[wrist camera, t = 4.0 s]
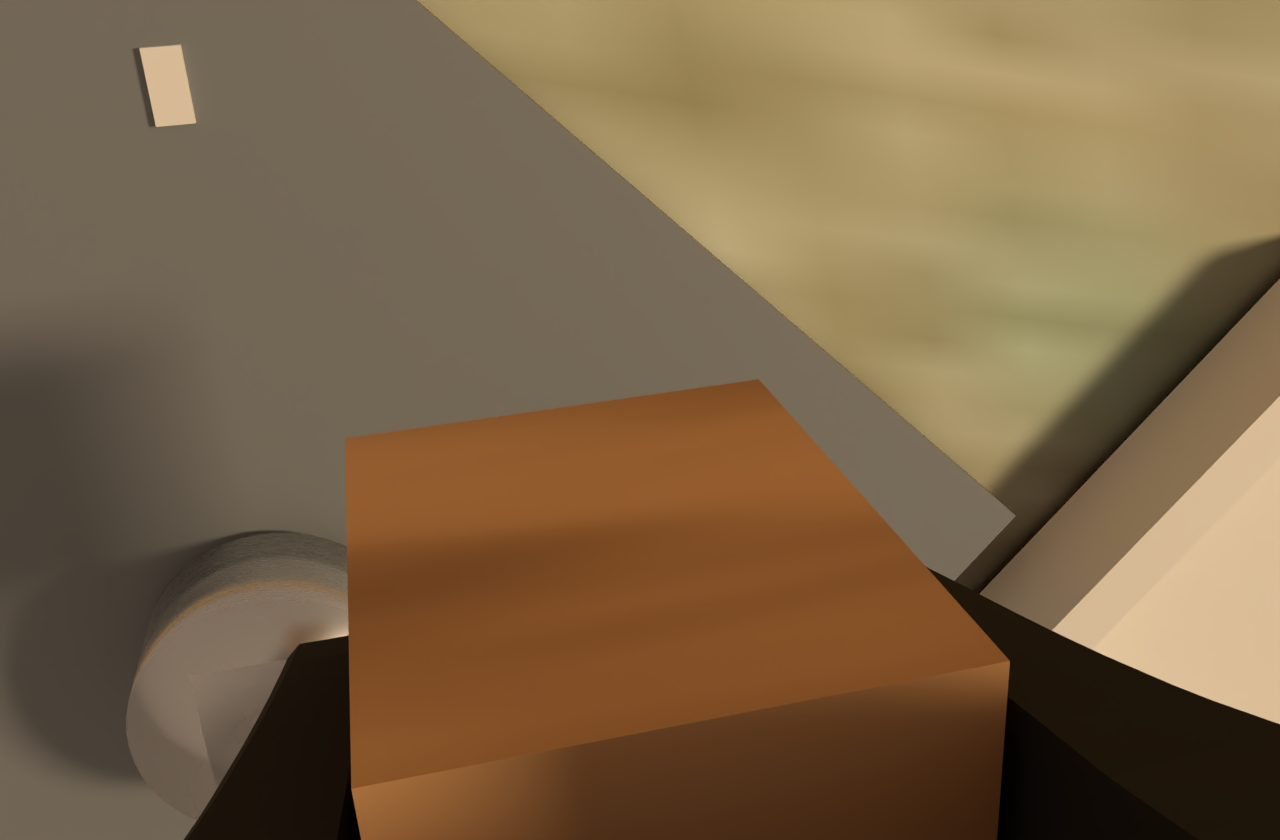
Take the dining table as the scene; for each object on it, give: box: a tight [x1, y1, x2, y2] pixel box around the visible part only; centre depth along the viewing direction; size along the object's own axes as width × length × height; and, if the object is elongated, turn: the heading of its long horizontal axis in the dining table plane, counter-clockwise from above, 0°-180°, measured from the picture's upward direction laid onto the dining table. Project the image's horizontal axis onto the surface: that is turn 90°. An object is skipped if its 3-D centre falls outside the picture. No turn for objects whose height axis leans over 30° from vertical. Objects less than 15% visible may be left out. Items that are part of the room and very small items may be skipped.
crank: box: [126, 533, 349, 821], centre depth 18 cm, size 10×4×5 cm, turn 93°
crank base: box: [0, 0, 1016, 840], centre depth 20 cm, size 18×18×1 cm
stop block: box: [345, 379, 1010, 840], centre depth 10 cm, size 4×4×5 cm
